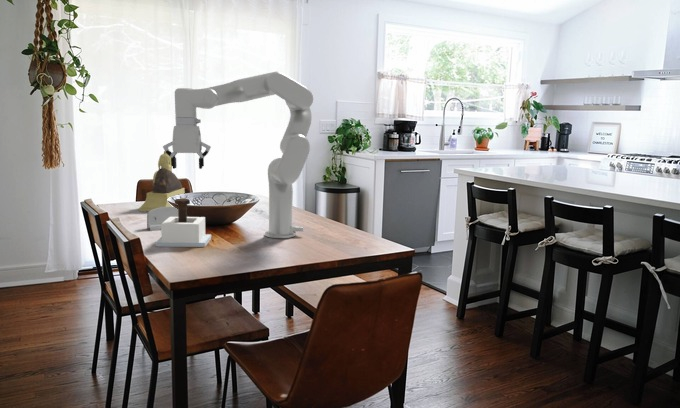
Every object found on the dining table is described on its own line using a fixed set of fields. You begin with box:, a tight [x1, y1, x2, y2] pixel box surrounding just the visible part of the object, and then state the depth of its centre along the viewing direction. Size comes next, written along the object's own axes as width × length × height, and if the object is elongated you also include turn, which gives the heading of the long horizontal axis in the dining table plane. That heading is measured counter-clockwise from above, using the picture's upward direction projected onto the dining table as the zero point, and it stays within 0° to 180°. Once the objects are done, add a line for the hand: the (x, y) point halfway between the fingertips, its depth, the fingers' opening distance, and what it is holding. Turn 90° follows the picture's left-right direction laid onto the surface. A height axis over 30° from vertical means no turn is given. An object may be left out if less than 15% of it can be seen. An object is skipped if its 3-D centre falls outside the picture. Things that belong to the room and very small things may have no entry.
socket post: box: [155, 216, 212, 248], centre depth 206 cm, size 18×14×8 cm
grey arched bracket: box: [146, 207, 179, 232], centre depth 231 cm, size 17×5×10 cm, turn 125°
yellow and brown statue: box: [139, 150, 186, 212], centre depth 275 cm, size 28×13×30 cm, turn 174°
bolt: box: [175, 198, 191, 223], centre depth 205 cm, size 6×5×15 cm
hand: (187, 168), depth 203 cm, fingers open, 9 cm apart
